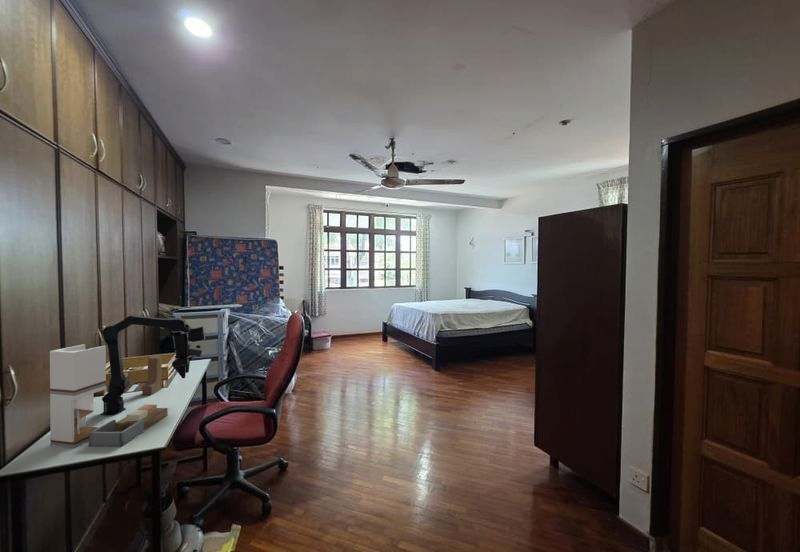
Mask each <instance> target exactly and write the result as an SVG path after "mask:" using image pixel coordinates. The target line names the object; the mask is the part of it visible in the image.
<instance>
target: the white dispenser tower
mask: <svg viewBox="0 0 800 552" xmlns="http://www.w3.org/2000/svg"><path fill="white" fill-rule="evenodd" d="M106 350H107V346H106V345H101V346H96V347H90V348H88V349H87V348H86V344H85V343H84V344H83V343H82V344H79V345H73V346H69V347H63V348H59V349H58V348H57V349H53V350H50V351H49V402H50V404H49V408H50V409H49V413H50V419H49V420H50V428H49V429H50V446H53V445H55V447H62V448H68V449H69V448H70V449H76V448H78V447H80V446H82V445H85V444H87V443H89V433H90V432H92V431H93V430H95V429H97V428H99V427H100V426H99V427H98V426H90V425H89V426H88V425H87V424H86V423H87V420H86V419H87V418H86V416H88V415H90V414H92V413H94V412H95V409H94V407H95V404H94V403H95V402H94V397H95V396H94V394H96V393H98V392H101V391H104V390H107V360H106V359H107V357H106V356H107V351H106Z"/></svg>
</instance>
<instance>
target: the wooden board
mask: <svg viewBox="0 0 800 552" xmlns="http://www.w3.org/2000/svg"><path fill="white" fill-rule="evenodd" d="M167 417H168V407H157V410H156V411H155V412H153V413H151V414H150V415H148V416H146V417H145V418H143V419H142V420H144V432H145V431H147V430H148V429H150V428H151V427H152V426H154V425H156V424H158V423H159V422H160V421H162V420H163V419H165V418H167ZM137 422H138V421H126V416H125V417H123V418H121V419H119V420H118V421H116V431H124V430H125V429H127V428H129V427H130V426H132V425H133V424H135V423H137Z"/></svg>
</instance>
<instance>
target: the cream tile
mask: <svg viewBox="0 0 800 552" xmlns="http://www.w3.org/2000/svg"><path fill="white" fill-rule="evenodd" d="M146 416H148V410H137V409H134V410H133V411H131V412H129V413H127V414H126V416H125V417H126V421H140V420H142V419H143V418H145V417H146Z"/></svg>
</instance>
